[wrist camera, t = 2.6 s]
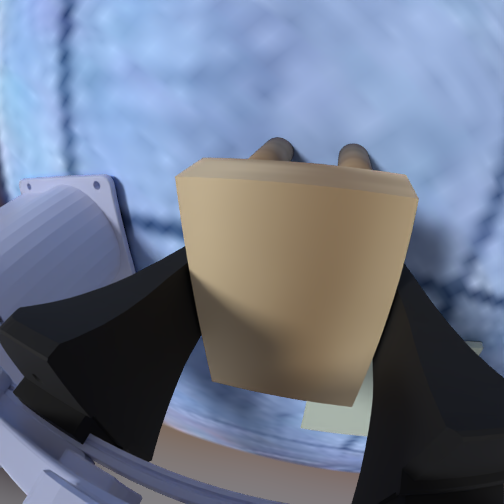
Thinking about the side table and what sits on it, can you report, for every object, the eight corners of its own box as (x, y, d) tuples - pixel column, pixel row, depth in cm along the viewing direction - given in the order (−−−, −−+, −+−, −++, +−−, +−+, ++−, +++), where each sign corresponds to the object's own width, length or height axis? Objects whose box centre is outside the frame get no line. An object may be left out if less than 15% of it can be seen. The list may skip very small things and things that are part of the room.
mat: (301, 423, 23) (300, 428, 22) (321, 326, 16) (320, 332, 16) (414, 433, 20) (414, 438, 20) (481, 342, 14) (483, 348, 13)
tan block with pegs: (254, 287, 16) (212, 381, 11) (248, 129, 12) (175, 176, 7) (358, 302, 15) (352, 407, 10) (385, 140, 10) (418, 198, 6)
